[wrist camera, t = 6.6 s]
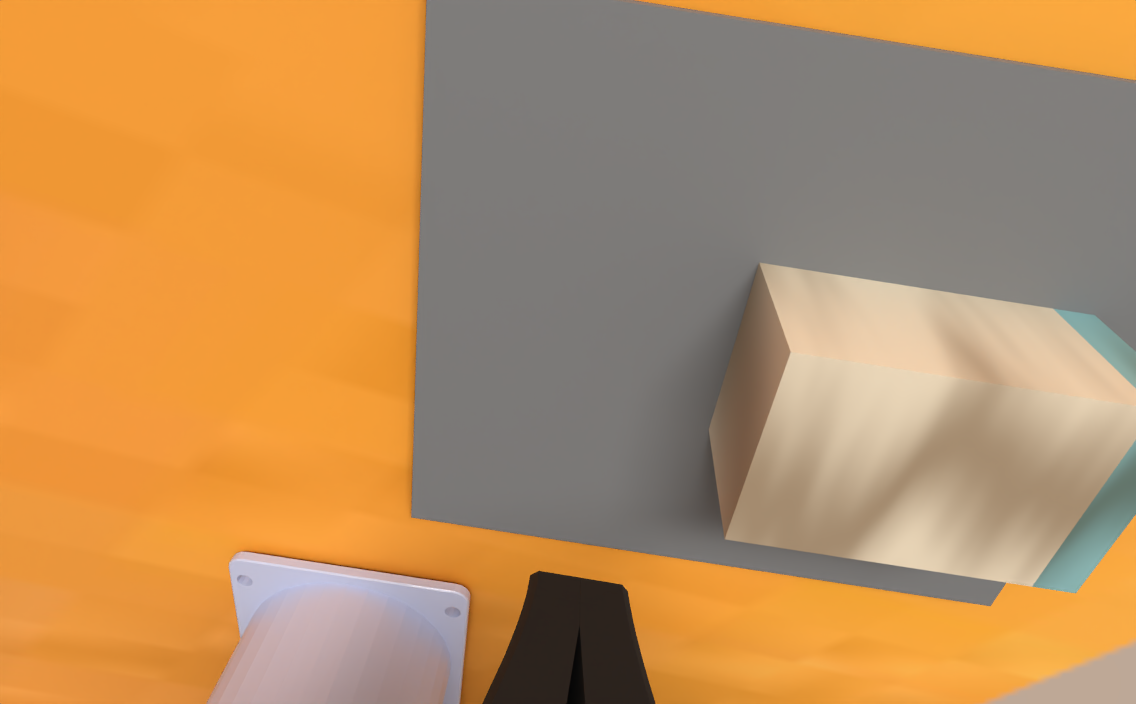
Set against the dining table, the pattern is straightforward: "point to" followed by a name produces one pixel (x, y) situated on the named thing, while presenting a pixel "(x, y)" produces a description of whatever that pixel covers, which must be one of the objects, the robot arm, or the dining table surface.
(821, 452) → the maple block
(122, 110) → the dining table surface
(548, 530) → the rubber mat
